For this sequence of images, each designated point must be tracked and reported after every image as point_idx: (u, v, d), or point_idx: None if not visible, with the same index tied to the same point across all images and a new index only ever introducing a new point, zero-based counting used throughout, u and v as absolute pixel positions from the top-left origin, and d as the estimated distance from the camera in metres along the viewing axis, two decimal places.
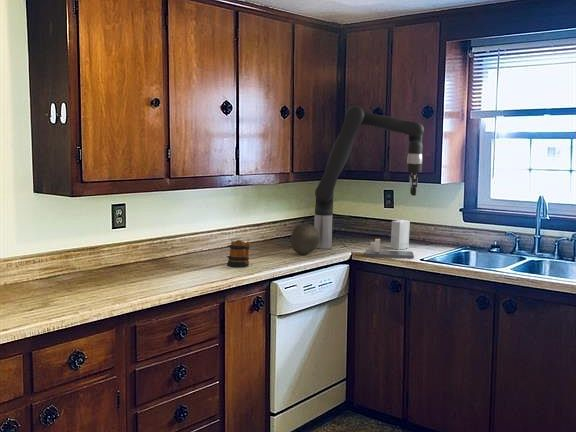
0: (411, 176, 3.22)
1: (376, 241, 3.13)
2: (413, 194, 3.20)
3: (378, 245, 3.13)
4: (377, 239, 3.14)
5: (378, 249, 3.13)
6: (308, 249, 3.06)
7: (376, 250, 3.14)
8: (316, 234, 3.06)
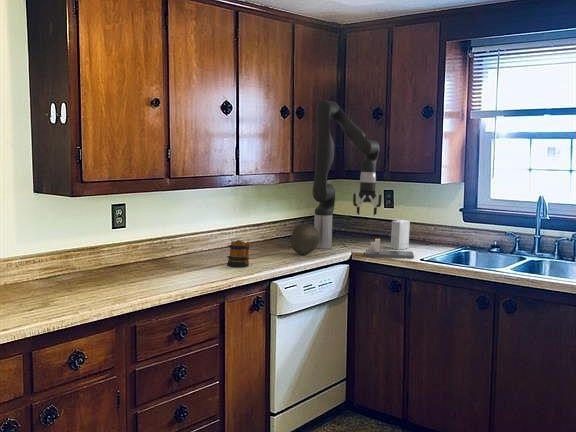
0: (371, 195, 3.11)
1: (376, 241, 3.13)
2: (374, 214, 3.13)
3: (378, 245, 3.13)
4: (377, 239, 3.14)
5: (378, 249, 3.13)
6: (308, 249, 3.06)
7: (376, 250, 3.14)
8: (316, 234, 3.06)
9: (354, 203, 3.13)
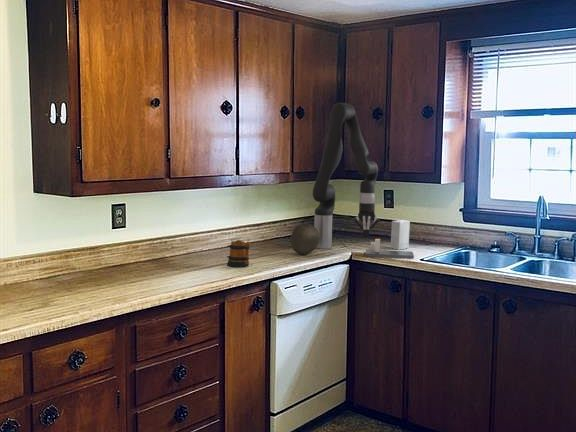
0: None
1: (376, 241, 3.13)
2: (367, 236, 3.15)
3: (378, 245, 3.13)
4: (377, 239, 3.14)
5: (378, 249, 3.13)
6: (308, 249, 3.06)
7: (376, 250, 3.14)
8: (316, 234, 3.06)
9: (360, 226, 3.14)
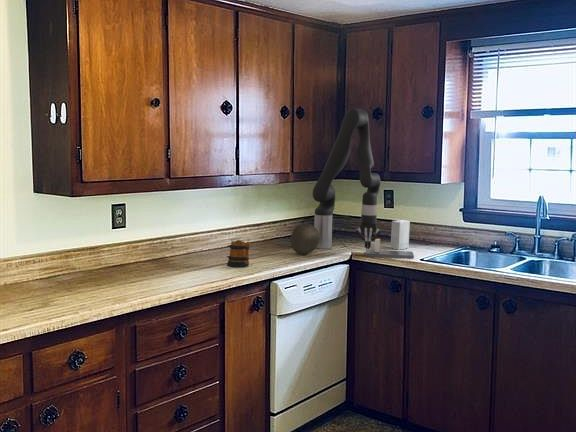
0: (372, 229, 3.13)
1: (376, 241, 3.13)
2: (369, 247, 3.15)
3: (378, 245, 3.13)
4: (377, 239, 3.14)
5: (378, 249, 3.13)
6: (308, 249, 3.06)
7: (376, 250, 3.14)
8: (316, 234, 3.06)
9: (362, 237, 3.14)
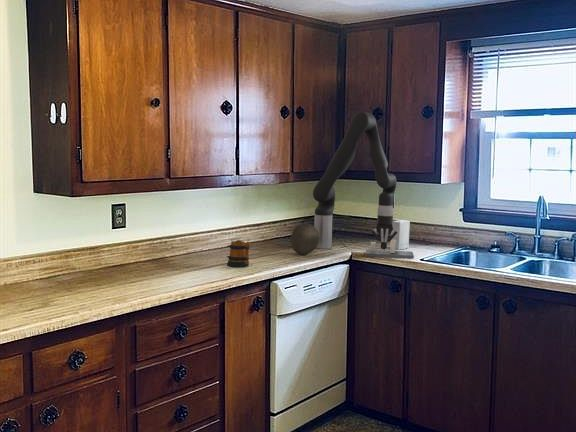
0: (388, 229, 3.12)
1: (391, 242, 3.12)
2: None
3: (393, 246, 3.12)
4: (392, 240, 3.13)
5: (393, 250, 3.13)
6: (308, 249, 3.06)
7: (391, 251, 3.13)
8: (316, 234, 3.06)
9: (378, 238, 3.13)
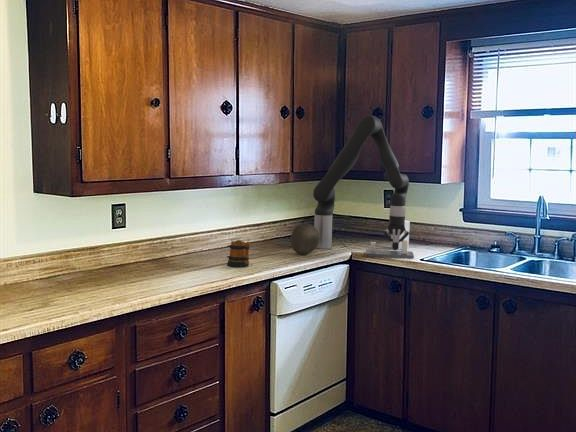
0: None
1: (403, 242, 3.12)
2: (396, 248, 3.14)
3: (405, 246, 3.12)
4: (404, 240, 3.12)
5: (405, 250, 3.12)
6: (308, 249, 3.06)
7: (403, 251, 3.12)
8: (316, 234, 3.06)
9: (390, 238, 3.12)
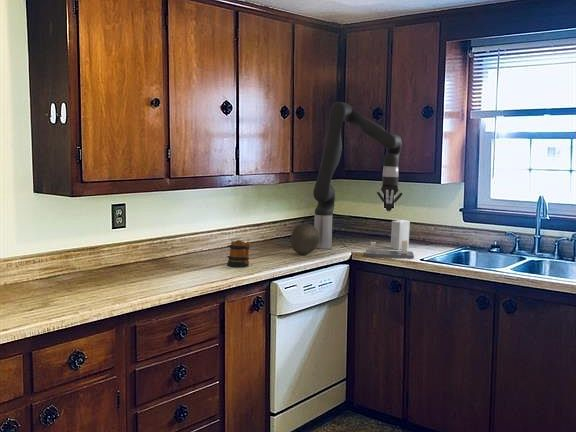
0: (393, 191, 3.10)
1: (403, 242, 3.12)
2: None
3: (405, 246, 3.12)
4: (404, 240, 3.12)
5: (405, 250, 3.12)
6: (308, 249, 3.06)
7: (403, 251, 3.12)
8: (316, 234, 3.06)
9: (383, 200, 3.11)
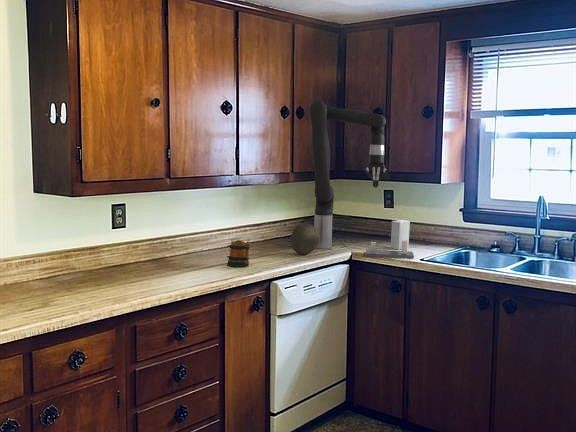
0: (380, 168, 3.28)
1: (403, 242, 3.12)
2: (376, 186, 3.30)
3: (405, 246, 3.12)
4: (404, 240, 3.12)
5: (405, 250, 3.12)
6: (308, 249, 3.06)
7: (403, 251, 3.12)
8: (316, 234, 3.06)
9: (370, 176, 3.29)
